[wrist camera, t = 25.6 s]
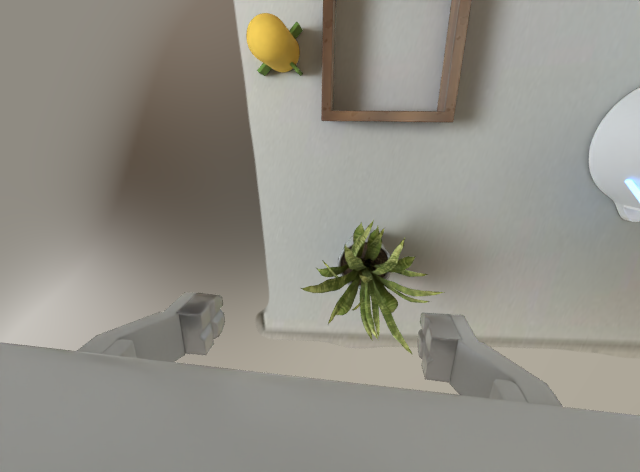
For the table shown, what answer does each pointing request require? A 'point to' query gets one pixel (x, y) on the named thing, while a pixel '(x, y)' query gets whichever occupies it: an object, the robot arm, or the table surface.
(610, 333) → the table surface
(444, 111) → the wooden box
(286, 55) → the corn plush toy
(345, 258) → the house plant
